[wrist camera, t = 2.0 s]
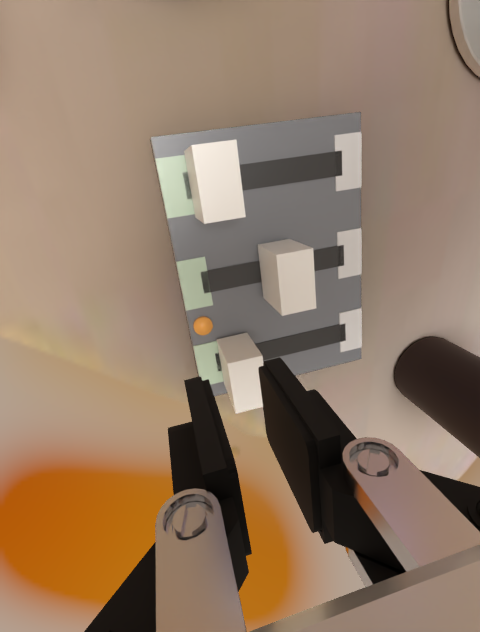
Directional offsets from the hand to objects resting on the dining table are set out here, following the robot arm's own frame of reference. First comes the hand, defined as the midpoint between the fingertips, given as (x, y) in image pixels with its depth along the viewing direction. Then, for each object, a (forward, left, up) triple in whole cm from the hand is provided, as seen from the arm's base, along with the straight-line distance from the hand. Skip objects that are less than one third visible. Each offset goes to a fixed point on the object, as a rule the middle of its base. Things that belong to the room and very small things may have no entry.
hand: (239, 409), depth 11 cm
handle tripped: (-6, 0, -15) cm, 16 cm away
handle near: (-2, -7, -15) cm, 16 cm away
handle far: (-3, +7, -15) cm, 16 cm away
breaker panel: (-6, 0, -17) cm, 18 cm away
